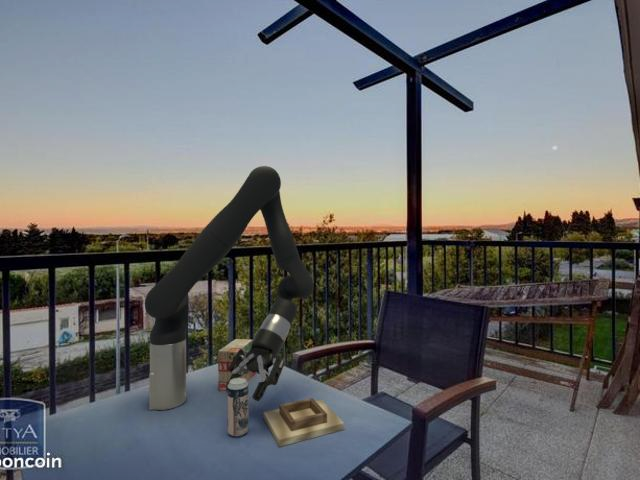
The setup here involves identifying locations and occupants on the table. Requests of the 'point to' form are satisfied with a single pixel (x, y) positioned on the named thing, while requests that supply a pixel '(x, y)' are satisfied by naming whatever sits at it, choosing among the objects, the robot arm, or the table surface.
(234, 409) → the beer can
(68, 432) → the table surface
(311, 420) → the base board
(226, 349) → the stack of blocks
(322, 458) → the table surface
